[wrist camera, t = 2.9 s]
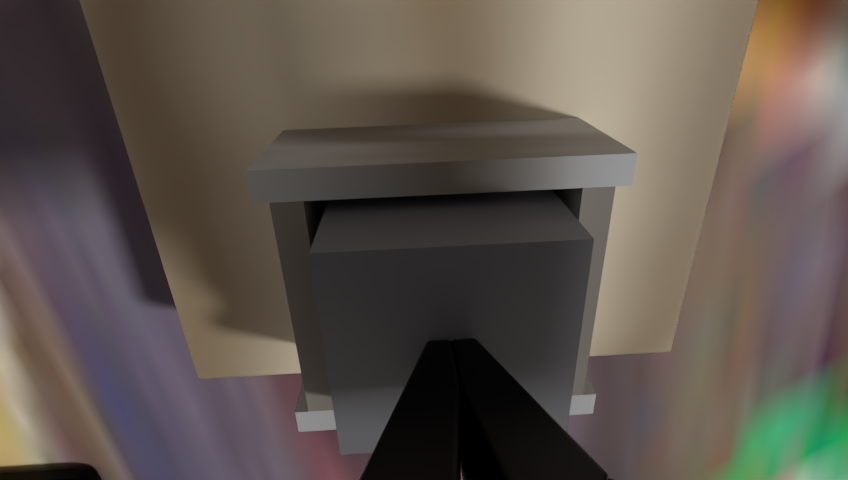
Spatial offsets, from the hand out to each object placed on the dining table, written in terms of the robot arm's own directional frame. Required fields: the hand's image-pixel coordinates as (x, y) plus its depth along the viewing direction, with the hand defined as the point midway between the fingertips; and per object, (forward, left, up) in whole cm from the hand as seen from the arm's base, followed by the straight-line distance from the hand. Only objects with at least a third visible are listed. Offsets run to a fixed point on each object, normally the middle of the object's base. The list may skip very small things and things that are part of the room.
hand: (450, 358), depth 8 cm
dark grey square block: (0, 0, -3) cm, 3 cm away
